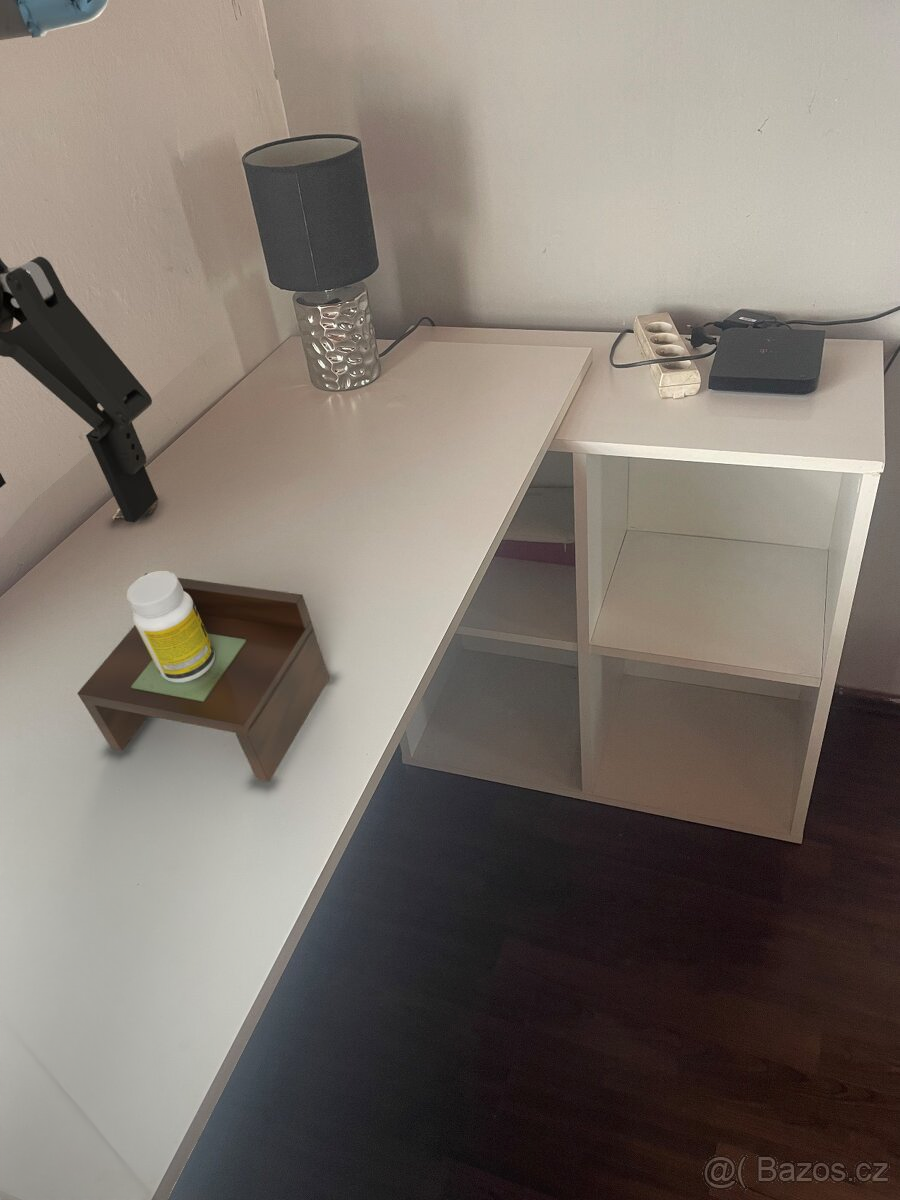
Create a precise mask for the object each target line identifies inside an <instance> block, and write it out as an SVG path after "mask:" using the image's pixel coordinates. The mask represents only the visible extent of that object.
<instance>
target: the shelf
mask: <svg viewBox="0 0 900 1200" xmlns="http://www.w3.org/2000/svg"><path fill="white" fill-rule="evenodd" d="M146 574H148V573H146V572H145V573H144V575H146ZM177 578H178V580H179V582H180V584H181V586H182V588H183V591H184V592H186V593H187V594H189V595H190V597H191V598H192V600H193V602H194V604H195V607H196V609H197V611H198V614H199V616H200V618H201V620H202V623H203V624H204V627H205V629H206V632H207V634H208V636H209V639H210V641H211V643H212V645H213V647H214V650H215V660H214V662H213V664H212V666H211V667H210V668H209V669H208V670H207V671H206V672H205V673H204V674H203V675H201V676H200V677H198V678H196V679H194V680H191V681H188V682H182V683H176V682H171V681H168V680H166V679H164V678H163V677H162V676H161V674H160V673H159V671H158V669H157V667H156V665H155V663H154V661H153V659H152V657H151V655H150V653H149V651H148V649H147V647H146V645H145V643H144V642H143V640H142V638H141V636H140V634H139V632H138V630H137V628H136V626H135V625H133V626H132V628H131V629H130V630H129V631H128V632H127V634H125V636H124V637H123V638H122V640H121V641H120V642H119V643H118V644H117V645H116V647H114V648H113V650H112V651H111V652H110V653H109V655H108V656H107V657H106V658H105V660H104V661H103V662H102V663H101V664H100V665H99V666H98V667H97V669H96V670H95V671H94V673H93V674H92V675H91V676H90V677H89V678H88V680H86V682H85V683H84V684H83V685H82V687H81V688H80V689H79V690H78V691H77V693H76V694H77V695H78V697H79V699H80V700H81V702H82V704H83V705H84V706H85V708H86V710H87V711H88V713H89V714H90V717H91V718H92V719H93V721H94V723H95V724H96V726H97V728H98V729H99V731H100V732H101V734H102V736H103V737H104V739H105V741H106V742H107V744H108V746H109V747H110V748H111V749H114V750H118V751H123V750H124V748H125V747H126V745H127V744H129V742H130V740H131V739H132V738H133V737H134V736H135V734H136V732H137V731H138V730H139V728H140V727H141V726H142V724H143V723H144V722H145V720H146V719H147V718H148V717H154V718H158V719H163V720H167V721H168V720H169V721H173V722H179V723H183V724H188V725H193V726H199V727H203V728H209V729H215V730H218V731H225V732H229V733H232V734H233V733H234V734H235V736H236V738H237V740H238V742H239V744H240V747H241V749H242V751H243V753H244V756H245V757H246V760H247V762H248V764H249V766H250V769H251V771H252V773H253V776H254V777H255V779H256V780H257V781H261V782H265V783H270V781H271V779H272V778H273V776H274V774H275V772H276V771H277V769H278V767H279V765H280V764H281V762H282V761H283V758H284V757H285V755H286V754H287V752H288V750H289V748H290V747H291V745H292V744H293V741H294V740H295V738H296V737H297V735H298V733H299V731H300V729H301V728H302V726H303V724H304V722H305V721H306V720H307V717H308V716H309V714H310V712H311V711H312V709H313V707H314V705H315V704H316V702H317V701H318V698H319V697H320V695H321V693H322V692H323V690H324V689H325V687H326V685H327V683H328V682H329V680H330V673H329V671H328V669H327V666H326V662H325V659H324V656H323V652H322V650H321V646H320V643H319V641H318V638H317V634H316V632H315V628H314V625H313V622H312V619H311V616H310V612H309V609H308V606H307V604H306V601H305V597H304V594H303V593H298V592H289V591H281V590H275V589H266V588H259V587H251V586H245V585H244V586H243V585H237V584H230V583H229V584H228V583H221V582H213V581H207V580H199V579H192V578H186V577H185V578H183V577H177Z"/></svg>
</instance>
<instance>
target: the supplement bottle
mask: <svg viewBox="0 0 900 1200" xmlns="http://www.w3.org/2000/svg"><path fill="white" fill-rule="evenodd" d="M145 574H146V573H145ZM145 574H143V575H142V576H140V577H138V578H137V579H136V580H135V581H133V582H132V583H131V585H130V586H128V589H127V591H126V598H127V601H128V603H129V605H130V607H131V610H132V611H133V613H132V620H133V623H134V626H136V628H137V630H138V632H139V634H140V636H141V638H142V640H143V642H144V643H145V645H146V647H147V649H148V651H149V653H150V655H151V657H152V659H153V661H154V663H155V665H156V667H157V669H158V671H159V673H160V674H161V676H162V677H163V678H164V679H166V680H168V681H171V682H176V683H182V682H188V681H191V680H194V679H196V678H198V677H200V676H201V675H203V674H204V673H205V672H206V671H207V670H208V669H209V668H210V667H211V666H212V664H213V662H214V660H215V650H214V647H213V645H212V643H211V641H210V639H209V636H208V634H207V632H206V629H205V627H204V624H203V623H202V620H201V618H200V616H199V614H198V611H197V609H196V607H195V604H194V602H193V600H192V598H191V597H190V595H189V594H187V593H186V592H184V591H183V588H182V586H181V584H180V582H179V580H178V578H179V577H177V576H176V575H175V574H174V573H173V572H171V571H167V570H159V571H152V572H149V573H147V574H146V575H145Z"/></svg>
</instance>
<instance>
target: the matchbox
mask: <svg viewBox="0 0 900 1200" xmlns="http://www.w3.org/2000/svg"><path fill="white" fill-rule="evenodd" d="M156 506H157V501H156V502H155V503H154V504H153V505H152V506H151V507H150V508H149V509H148V510H147V511H146V512H145V513H144V514H143V515H142V516H141V517H140V518H143V517H148V516H149V515H150V514H151V513H152V512H153V510H154V509H155V507H156ZM116 511H117V512H116V513H115V514H114V515H112V521H111V522H114V521H115V520H116V518H117V519H120V518H124V517H123V514H122V512H121V510H120V508H119V507H118V509H116Z"/></svg>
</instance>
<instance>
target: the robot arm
mask: <svg viewBox="0 0 900 1200" xmlns="http://www.w3.org/2000/svg"><path fill="white" fill-rule="evenodd" d="M108 3H109V0H0V41H5V40H11V39H17V38H24V37H30V36H31V38H32V39H35V38H41V37H45V36H46V35H47V34H48V32H52V31H56V30H60V29H64V28H69V27H75V26H78V25H82V24H88V23H89V22H92V21H94V20H96V19H97V18H98V17H100V16H101V15H102V14H103V12H104V11H105V10H106V8H107V5H108ZM14 319H15V320H16V321H17V322H18V323H19V324H17V325H16V326H15V327H13V326H14ZM0 357H3V358H11V359H13V360H14V361H15V362H16V363H18V364H19V365H20V366H21V367H22V368H23V369H24V370H26V371H27V372H28V373H29V374H30V375H31V376H32V377H33V378H35V379H36V380H37V381H38V382H39V383H40V384H42V386H44V387H45V388H46V389H47V390H49V392H51V393H52V394H53V395H55V397H56V398H58V399H59V400H60V401H62V403H64V404H65V405H66V406H67V407H68V408H69V409H71V411H72V412H74V413H75V414H76V415H77V416H79V417H80V418H81V419H82V420H83V421H84V422H85V423H87V425H89V426H90V427H91V428H93V429H92V430H91V431H89V432H88V433H87V434H86V435H85V437H86V439H87V441H88V444H89V445H90V447H91V450H92V452H93V454H94V457H95V459H96V460H97V463H98V465H99V467H100V469H101V472H102V474H103V476H104V478H105V480H106V482H107V484H108V487H109V489H110V490H111V493H112V495H113V497H114V499H115V501H116V504H117V506H118V509H119V508H120V510H121V512H122V514H123V518H124V521H125V522H128V523H136V522H137V521H139V519H140V518H142V517H141V516H142V515H143V514H144V513H145V512H146V511H147V510H148V509H149V508H150V507H151V506H152V505H153V504H154V503H155V502H156V503H157V501H158V500H159V498H158V496H157V493H156V490H155V488H154V486H153V483H152V482H151V479H150V477H149V474H148V472H147V469H146V468H145V465H146V464H147V456H146V452H145V450H144V448H143V445H142V443H141V441H140V439H139V436H138V434H137V431H136V429H135V427H134V425H133V422H134V420H136V419H137V418H138V417H139V416H140V415H142V414H143V413H144V412H145V411H146V410H147V409H149V408H150V406H151V405H153V400H152V397H151V395H150V394H149V392H148V391H147V390H146V389H145V387H144V386H143V385H142V384H141V383H140V381H139V380H138V379H137V378H136V377H135V375H134V374H133V373H132V372H131V370H130V369H129V368H128V367H127V366H126V365H125V363H124V361H122V360H121V358H120V357H119V356H118V354H117V353H116V351H114V350H113V349H112V348H111V346H110V345H109V344H108V342H107V341H106V340H105V339H104V338H103V337H102V335H101V334H100V333H99V332H98V331H97V330H96V328H95V327H94V326H93V324H92V323H91V322H90V321H89V319H88V318H87V317H86V316H85V315H84V314H83V312H82V311H81V310H80V309H79V307H78V306H77V305H76V304H75V302H74V301H73V300H72V299H71V297H70V296H69V295H68V294H67V292H66V290H65V289H64V287H63V284H62V283H61V281H60V279H59V276H58V275H57V273H56V271H55V269H54V267H53V265H52V264H51V263H50V261H49V259H47V258H45V257H44V256H37V257H34V258H32V259H31V260H30V261H27V262H26V263H24V264H22V265H19V266H13V267H9V266H8V265H7V263H5V261H4V260H3V259H2V258H1V257H0ZM99 405H100V407H102V409H100V407H98V406H99ZM6 484H7V482H6V480H5V478H4V477H3V474H2V473H1V472H0V489H1V488H2V487H3V486H4V485H6Z"/></svg>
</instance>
